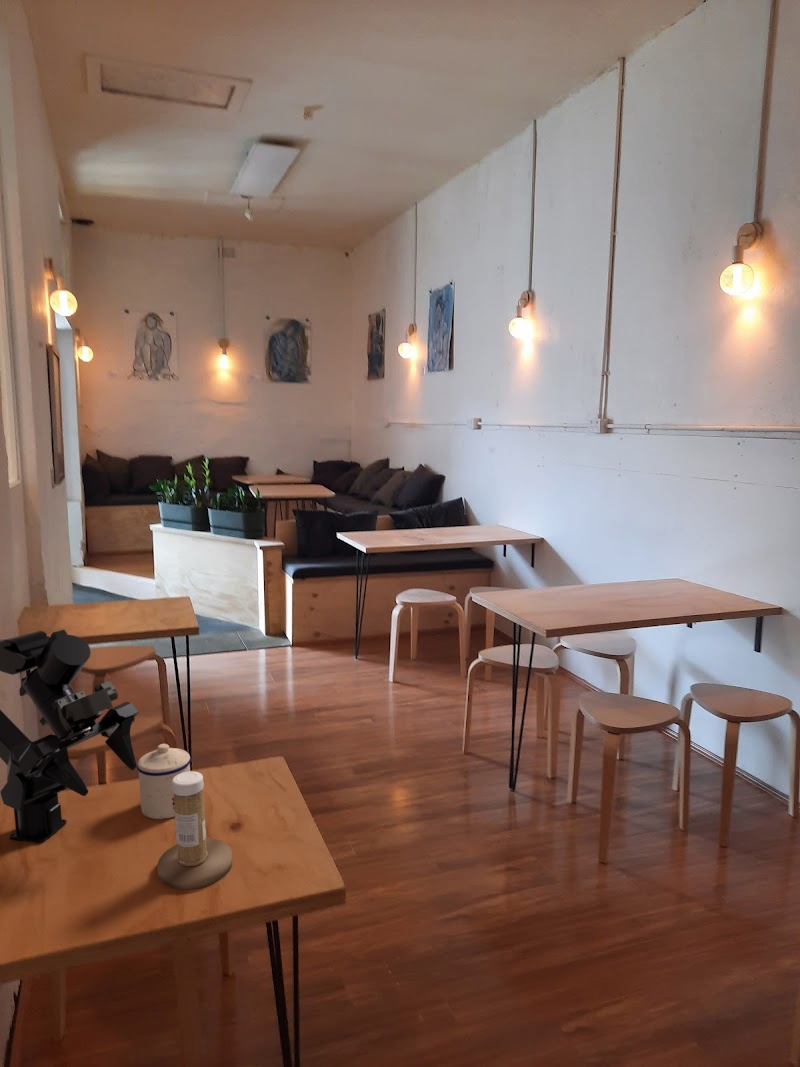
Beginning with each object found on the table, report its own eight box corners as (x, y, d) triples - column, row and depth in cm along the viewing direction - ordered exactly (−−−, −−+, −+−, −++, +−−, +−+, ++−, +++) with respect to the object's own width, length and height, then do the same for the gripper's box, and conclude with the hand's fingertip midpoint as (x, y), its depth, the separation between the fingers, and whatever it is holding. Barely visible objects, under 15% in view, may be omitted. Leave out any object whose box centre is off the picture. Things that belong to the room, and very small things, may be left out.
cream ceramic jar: (182, 821, 129) (178, 757, 128) (131, 820, 130) (126, 756, 128) (205, 787, 141) (202, 728, 139) (158, 786, 142) (154, 727, 140)
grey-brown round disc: (144, 884, 112) (143, 875, 112) (181, 843, 123) (180, 835, 123) (212, 893, 110) (211, 884, 109) (243, 851, 120) (243, 842, 120)
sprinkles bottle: (213, 854, 117) (209, 773, 115) (195, 870, 113) (190, 786, 111) (189, 848, 119) (184, 768, 117) (170, 864, 115) (165, 781, 112)
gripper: (23, 690, 107) (83, 780, 104) (126, 653, 124) (180, 730, 120) (-7, 733, 112) (49, 819, 109) (96, 692, 128) (148, 766, 125)
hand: (111, 781), depth 116 cm, fingers open, 9 cm apart
